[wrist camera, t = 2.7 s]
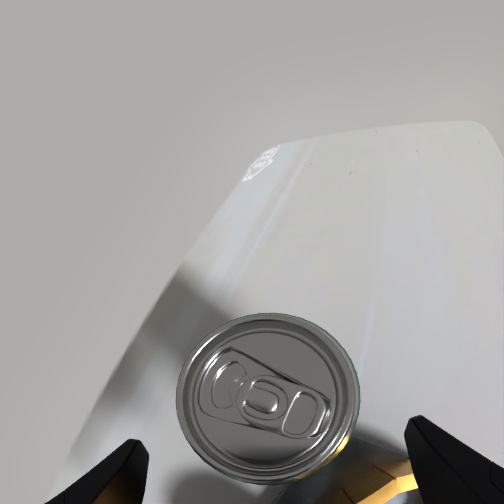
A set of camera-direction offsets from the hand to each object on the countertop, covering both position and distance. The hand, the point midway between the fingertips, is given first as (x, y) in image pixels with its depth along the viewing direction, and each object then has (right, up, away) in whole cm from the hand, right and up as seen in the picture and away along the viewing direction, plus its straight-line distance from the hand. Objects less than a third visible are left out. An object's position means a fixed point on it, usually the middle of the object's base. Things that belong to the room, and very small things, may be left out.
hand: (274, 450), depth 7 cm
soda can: (+1, -3, +9) cm, 10 cm away
